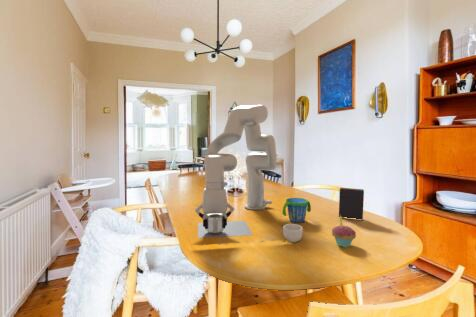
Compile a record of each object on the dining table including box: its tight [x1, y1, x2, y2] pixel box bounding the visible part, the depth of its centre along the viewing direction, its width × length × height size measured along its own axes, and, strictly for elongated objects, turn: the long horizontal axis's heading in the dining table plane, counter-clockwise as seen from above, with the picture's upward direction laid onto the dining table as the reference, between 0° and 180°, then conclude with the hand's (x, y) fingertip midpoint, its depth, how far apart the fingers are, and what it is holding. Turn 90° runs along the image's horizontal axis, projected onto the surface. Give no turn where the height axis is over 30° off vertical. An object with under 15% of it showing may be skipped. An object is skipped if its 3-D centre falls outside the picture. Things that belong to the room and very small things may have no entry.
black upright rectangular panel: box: [338, 187, 365, 220], centre depth 132 cm, size 11×4×15 cm, turn 65°
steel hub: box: [206, 213, 224, 233], centre depth 109 cm, size 7×7×6 cm
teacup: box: [282, 223, 304, 243], centre depth 106 cm, size 10×8×5 cm
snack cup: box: [282, 197, 312, 223], centre depth 129 cm, size 16×10×10 cm
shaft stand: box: [197, 220, 254, 239], centre depth 114 cm, size 22×18×7 cm
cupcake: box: [331, 215, 357, 248], centre depth 100 cm, size 9×8×12 cm
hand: (215, 227), depth 109 cm, fingers closed on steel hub, 7 cm apart
